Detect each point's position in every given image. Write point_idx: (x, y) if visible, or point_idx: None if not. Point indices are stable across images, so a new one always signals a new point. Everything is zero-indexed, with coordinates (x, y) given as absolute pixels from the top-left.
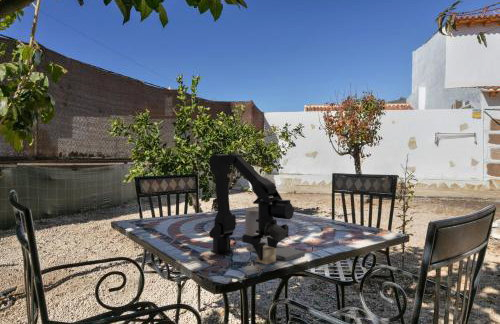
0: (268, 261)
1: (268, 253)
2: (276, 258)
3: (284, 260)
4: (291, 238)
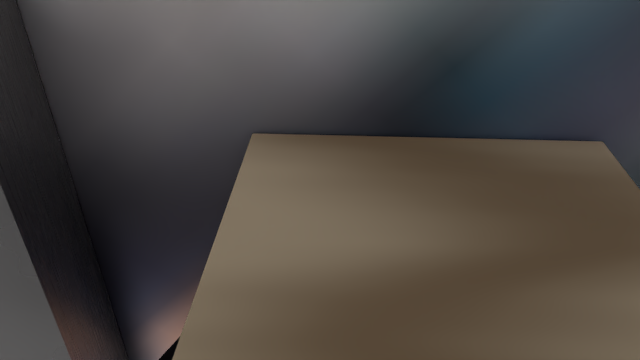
0: (531, 171)
1: (626, 355)
2: (93, 261)
3: (14, 33)
4: None
